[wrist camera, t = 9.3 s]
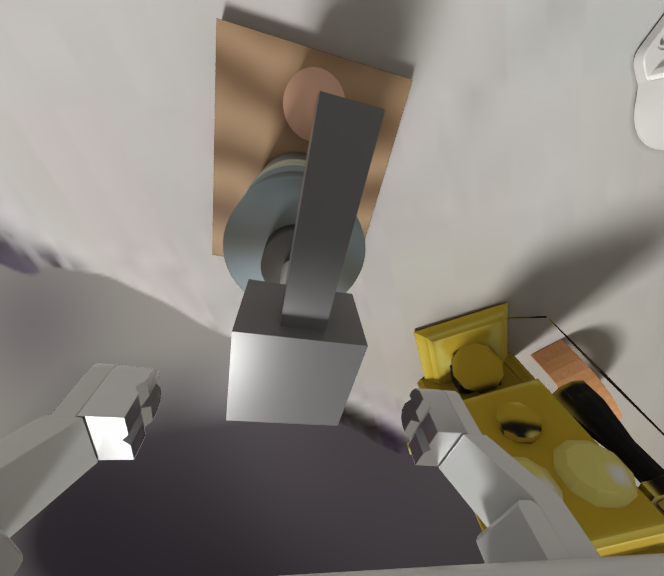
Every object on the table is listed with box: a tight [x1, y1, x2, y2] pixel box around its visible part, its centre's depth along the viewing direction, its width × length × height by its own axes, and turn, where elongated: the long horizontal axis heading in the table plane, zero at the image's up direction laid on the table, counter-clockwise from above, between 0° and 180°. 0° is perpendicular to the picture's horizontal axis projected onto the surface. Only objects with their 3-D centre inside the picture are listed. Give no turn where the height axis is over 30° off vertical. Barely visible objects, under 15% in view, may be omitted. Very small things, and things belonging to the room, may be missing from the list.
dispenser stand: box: [212, 19, 412, 293], centre depth 24 cm, size 22×18×20 cm
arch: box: [531, 340, 621, 420], centre depth 52 cm, size 6×20×10 cm, turn 36°
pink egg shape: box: [283, 67, 345, 141], centre depth 25 cm, size 5×5×6 cm
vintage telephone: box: [407, 303, 664, 557], centre depth 36 cm, size 31×14×30 cm, turn 108°
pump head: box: [226, 91, 385, 425], centre depth 11 cm, size 10×4×8 cm, turn 167°
